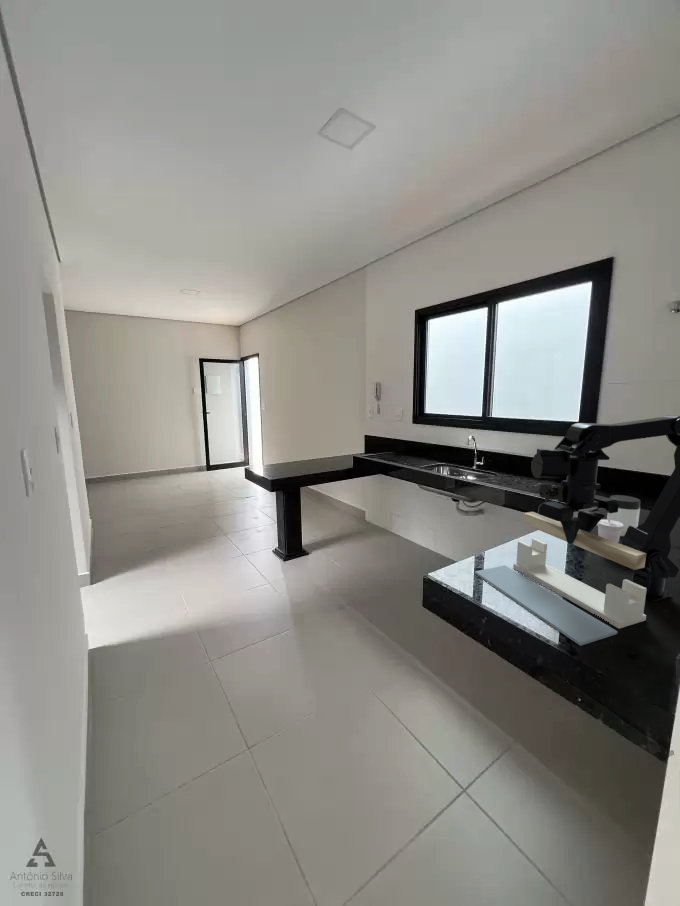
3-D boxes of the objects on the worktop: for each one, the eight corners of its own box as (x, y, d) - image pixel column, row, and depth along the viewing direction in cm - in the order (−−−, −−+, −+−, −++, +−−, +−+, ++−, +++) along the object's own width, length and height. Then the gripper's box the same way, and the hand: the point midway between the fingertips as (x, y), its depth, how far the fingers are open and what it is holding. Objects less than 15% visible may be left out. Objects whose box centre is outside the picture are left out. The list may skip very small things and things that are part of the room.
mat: (504, 567, 101) (504, 565, 101) (617, 633, 73) (617, 631, 73) (474, 573, 97) (474, 571, 97) (580, 645, 69) (580, 642, 69)
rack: (535, 562, 103) (537, 537, 102) (645, 620, 77) (650, 587, 76) (513, 567, 100) (515, 541, 99) (619, 628, 74) (623, 594, 73)
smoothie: (609, 549, 111) (614, 505, 109) (626, 558, 105) (631, 511, 102) (588, 549, 111) (593, 505, 109) (604, 559, 104) (609, 512, 102)
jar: (609, 525, 130) (613, 493, 128) (638, 532, 124) (642, 498, 122) (603, 532, 124) (606, 498, 122) (633, 539, 118) (637, 503, 116)
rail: (531, 522, 100) (532, 511, 100) (644, 567, 74) (646, 553, 73) (523, 523, 99) (524, 512, 99) (634, 569, 73) (636, 555, 72)
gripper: (578, 468, 94) (572, 525, 97) (521, 474, 88) (517, 535, 91) (623, 477, 84) (616, 541, 87) (563, 485, 78) (556, 553, 81)
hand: (575, 542), depth 87 cm, fingers closed on rail, 3 cm apart
